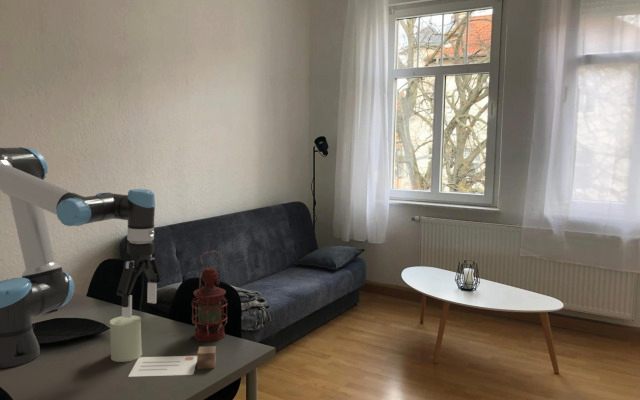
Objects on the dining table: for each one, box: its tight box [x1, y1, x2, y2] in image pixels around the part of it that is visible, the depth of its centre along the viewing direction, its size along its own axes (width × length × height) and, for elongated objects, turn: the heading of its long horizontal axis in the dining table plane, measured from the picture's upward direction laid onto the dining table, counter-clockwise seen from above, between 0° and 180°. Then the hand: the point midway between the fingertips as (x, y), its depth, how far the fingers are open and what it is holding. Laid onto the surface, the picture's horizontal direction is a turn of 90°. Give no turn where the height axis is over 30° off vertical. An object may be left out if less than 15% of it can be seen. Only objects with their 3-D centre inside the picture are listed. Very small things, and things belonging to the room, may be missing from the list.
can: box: [109, 315, 143, 363], centre depth 155 cm, size 9×9×12 cm
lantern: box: [191, 250, 229, 343], centre depth 172 cm, size 12×12×30 cm
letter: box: [128, 355, 197, 378], centre depth 149 cm, size 18×13×1 cm
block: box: [196, 345, 217, 370], centre depth 151 cm, size 5×5×5 cm
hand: (139, 309), depth 152 cm, fingers open, 13 cm apart
